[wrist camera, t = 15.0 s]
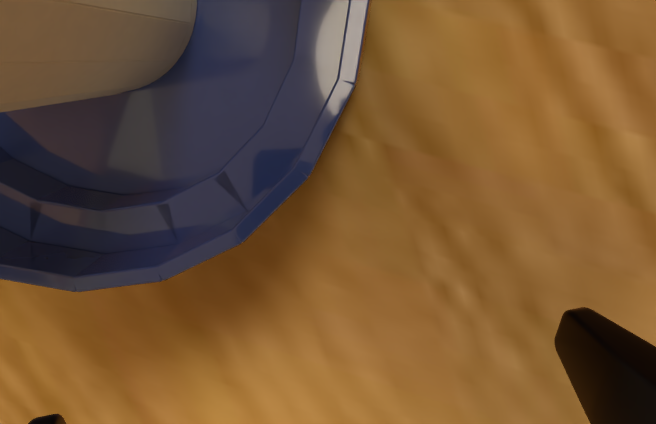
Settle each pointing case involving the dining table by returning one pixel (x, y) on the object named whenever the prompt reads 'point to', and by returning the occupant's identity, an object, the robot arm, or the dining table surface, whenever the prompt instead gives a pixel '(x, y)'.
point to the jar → (87, 47)
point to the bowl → (178, 148)
